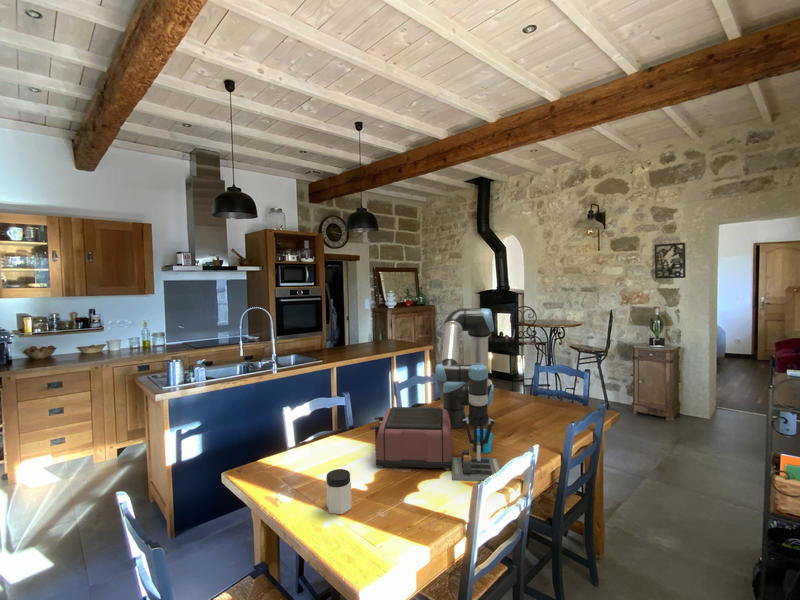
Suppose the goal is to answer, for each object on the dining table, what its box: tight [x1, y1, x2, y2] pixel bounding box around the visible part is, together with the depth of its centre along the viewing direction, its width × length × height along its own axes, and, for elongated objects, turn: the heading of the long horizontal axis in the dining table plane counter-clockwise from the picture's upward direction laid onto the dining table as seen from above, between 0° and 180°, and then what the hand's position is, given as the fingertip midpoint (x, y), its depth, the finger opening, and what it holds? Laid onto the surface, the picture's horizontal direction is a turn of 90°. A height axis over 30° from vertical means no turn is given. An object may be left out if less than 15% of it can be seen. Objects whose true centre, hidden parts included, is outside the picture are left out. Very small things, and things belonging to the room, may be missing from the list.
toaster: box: [369, 406, 453, 471], centre depth 184 cm, size 31×36×18 cm
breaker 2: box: [463, 454, 472, 461], centre depth 167 cm, size 3×3×4 cm
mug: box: [472, 428, 494, 454], centre depth 189 cm, size 12×8×8 cm
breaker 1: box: [461, 449, 470, 462], centre depth 172 cm, size 3×3×4 cm
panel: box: [451, 456, 502, 482], centre depth 167 cm, size 16×20×2 cm
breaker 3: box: [463, 460, 471, 473], centre depth 162 cm, size 3×3×4 cm
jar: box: [325, 468, 353, 515], centre depth 141 cm, size 9×8×12 cm
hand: (478, 459), depth 167 cm, fingers closed
